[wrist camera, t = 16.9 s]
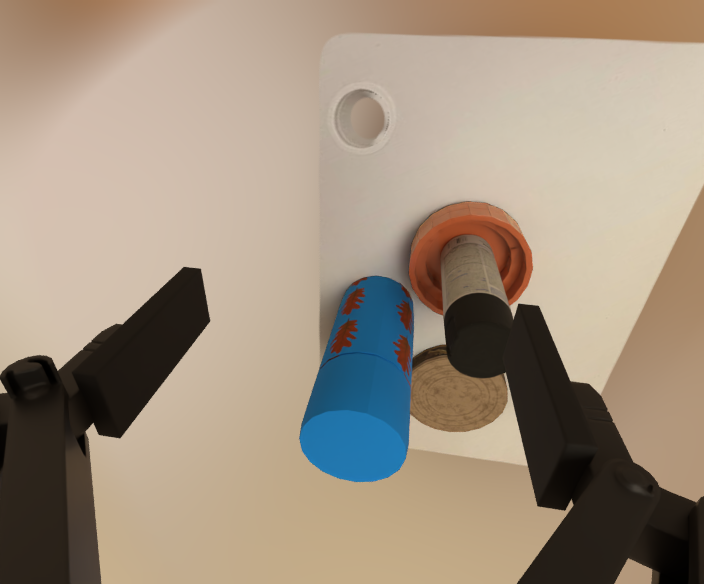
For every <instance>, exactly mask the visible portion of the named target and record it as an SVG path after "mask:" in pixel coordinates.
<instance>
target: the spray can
mask: <svg viewBox="0 0 704 584" xmlns="http://www.w3.org/2000/svg"><path fill="white" fill-rule="evenodd" d="M440 261H441V278H442V297H443V316H444V328H445V338H446V351H447V358H448V360H449V362H450V364H451V365H452V366H453V367H454V368H455V369H456V370H457V371H458V372H460V373H462V374H464V375H466V376H469V377H473V378H482V379H483V378H492V377H496V376H499V375H501V374H503V373H505V372H506V370H505V366H504V362H503V354H504V351H505V348H506V344H507V341H508V337H509V334H510V331H511V327H512V324H513V321H514V320H513V316H512V313H511V309H510V306H509V303H508V299H507V296H506V293H505V290H504V287H503V283H502V280H501V277H500V273H499V270H498V267H497V264H496V261H495V257H494V254H493V251H492V248H491V247H490V245H489V244H488V242H487V241H486V240H484V239H483V238H481V237H479V236H477V235H466V234H465V235H460V236H457V237H454V238H453V239H452V240H451V241H449V242H448V243H447V244H446V245H445V247H444V248H443V250H442V253H441V259H440Z"/></svg>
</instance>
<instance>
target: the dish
mask: <svg viewBox="0 0 704 584" xmlns="http://www.w3.org/2000/svg"><path fill="white" fill-rule="evenodd" d="M465 234H466V235H477V236H479V237H481V238H483V239H484V240H486V241H487V242H488V244H489V245H490V247H491V248H492V251H493V254H494V257H495V261H496V264H497V267H498V270H499V273H500V277H501V280H502V283H503V287H504V290H505V293H506V296H507V299H508V303H509V306H510V305H511V304H513V303H514V302H515V301H517V300H518V298H519V297H520V296H521V294H522V293H523V291H524V290H525V289H526V287H527V286H528V283H529V280H530V277H531V273H532V270H533V265H532V252H531V250H530V248H529V246H528V244H527V242H526V240H525V238H524V236H523V234H522V232H521V230H520V228H519V226H518V224H517V222H516V221H515V220H514V219H513V218H512V217H510V216H509V215H508V214H507V213H506V212H505V211H503V210H502V209H499V208H497V207H494V206H492V205H490V204H486V203H478V202H463V203H459V204H454V205H449V206H447V207H445V208H443V209H441V210H439V211H437V212H436V213H434V214H432V215H431V216H430V217H429V218H428V219H427V220H426V221H425V222H424V223H423V224H422V225H421V226H420V227H419V229H418V231H417V233H416V235H415V237H414V239H413V241H412V245H411V253H410V264H409V276H410V280H411V285H412V288H413V290H414V291H415V293H416V294H417V296H418V297H419V299H420V300H421V301H422V303H424V304H425V305H426V306H427V307H429V308H430V309H431V310H433V311H434V312H436V313H438V314H441V315H443V297H442V278H441V261H440V259H441V253H442V250H443V248H444V247H445V245H446V244H447V243H448V242H449V241H451V240H452V239H453V238H454V237H457V236H460V235H465Z"/></svg>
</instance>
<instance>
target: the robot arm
mask: <svg viewBox="0 0 704 584" xmlns="http://www.w3.org/2000/svg"><path fill="white" fill-rule="evenodd" d="M209 322H210V317H209V312H208V306H207V301H206V295H205V290H204V284H203V278H202V273H201V269H198V268H189V267H183V268H182V269H181V270H180V271H179V272H178V273H177V274H176V275H175V276H174V277H173V278H172V279H171V280H169V281H168V282H167V283H166V284H165V285H164V286H163V287H162V288H161V289H160V290H159V291H158V292H157V293H156V294H154V296H152V297H151V298H150V299H149V300H148V301H147V302H146V303H145V304H144V305H143V306H142V307H141V308H140V309H138V310H137V311H136V312H135V313H134V314H133V315H132V316H131V317H130V318H129V319H128V320H127V321H126V322H125V323H124V324H123V325H121V324H115V325H113V326H111V327H109V328H107V329H105V330H104V331H102V332H101V333H100V334H98V335H97V336H96V337H95V338H94V339H93V340H92V342H91V343H89V344H87V345H86V346H85V347H84V348H83V350H81V351H80V352H78V354H76V355H75V356H74V357H73V358H72V359H71V360H70V361H68V362H67V363H66V364H65V365H64V366H63V367H62V368H61V369H59V370H58V371H57V369H56V367H55V364H54V362H53V360H52V358H50V357H48V356H41V355H37V356H32V357H27V358H24V359H21V360H18V361H16V362H15V363H13V364H11V365H9V366H8V367H7V368H6V369H5V370H4V371H3V372H2V373H1V375H0V380H1V382H2V384H3V385H4V387H5V389H6V391H7V393H2V394H0V584H101V575H100V564H99V553H98V542H97V530H96V519H95V508H94V497H93V486H92V475H91V463H90V452H89V441H88V437H87V435H86V432H85V431H86V430H87V429H88V428H89V427H90V426H91V425H92V424H93V423H94V425H95V427H96V430H97V432H98V434H99V435H103V436H109V437H115V438H121V437H122V435H123V434H124V433H125V431H126V430H127V429H128V428H129V426H130V425H131V424H132V422H133V421H134V420H135V418H136V417H137V416H138V415H139V413H140V412H141V411H142V409H143V408H144V407H145V405H146V404H147V403H148V401H149V400H150V399H151V398H152V396H153V395H154V394H155V392H156V391H157V390H158V388H159V387H160V386H161V384H162V383H163V382H164V381H165V379H166V378H167V377H168V376H169V374H170V373H171V372H172V370H173V369H174V368H175V366H176V365H177V364H178V363H179V361H180V360H181V359H182V357H183V356H184V355H185V353H186V352H187V351H188V349H189V348H190V347H191V346H192V344H193V343H194V342H195V340H196V339H197V338H198V336H199V335H200V334H201V333H202V331H203V330H204V329H205V327H206V326H207V325H208V323H209ZM503 362H504V366H505V370H506V375H507V379H508V383H509V387H510V392H511V396H512V400H513V404H514V409H515V413H516V417H517V421H518V426H519V430H520V434H521V438H522V442H523V447H524V451H525V455H526V459H527V464H528V468H529V472H530V476H531V480H532V485H533V489H534V493H535V498H536V502H537V506H539V507H546V508H552V509H558V510H564V511H565V510H566V508H567V506H568V504H569V502H570V501H571V499H572V502H573V504H574V506H573V507H572V509H571V510H570V511H569V513H568V514H567V516H566V517H565V518H564V520H563V521H562V522H561V524H560V525H559V527H558V528H557V529H556V531H555V532H554V534H553V535H552V536H551V538H550V539H549V540H548V542H547V543H546V544H545V546H544V547H543V548H542V550H541V551H540V553H539V554H538V556H537V557H536V558H535V560H534V561H533V562H532V564H531V565H530V567H529V568H528V569H527V571H526V572H525V573H524V575H523V576H522V577H521V579H520V580H519V581H518V583H517V584H614V583H615V581H616V579H617V577H618V576H619V574H620V572H621V570H622V568H623V566H624V565H625V563H626V560H627V559H628V558H629V559H632V560H634V561H636V562H638V563H640V564H642V565H644V566H647V567H649V568H651V569H653V570H652V584H704V496H703V497H701V498H700V499H699V500H698V502H694V501H692V500H689V499H686V498H684V497H682V496H678V495H676V494H674V493H671V492H669V491H667V490H665V489H662V488H661V487H659V485H658V483H657V481H656V480H655V479H654V477H653V476H652V475H651V474H650V473H649V472H648V471H646V470H645V469H644V468H643V467H641V466H639V465H637V464H635V463H634V462H633V461H632V459H631V456H630V455H629V452H628V450H627V448H626V446H625V444H624V442H623V440H622V438H621V436H620V434H619V432H618V430H617V428H616V426H615V424H614V423H613V422H612V421H613V420H612V418H611V415H610V413H609V412H607V407H606V405H605V403H604V401H603V399H602V397H601V396H600V394H599V393H598V392H597V391H596V390H595V389H594V388H593V387H592V386H591V385H590V384H587V383H579V382H571V381H570V379H569V377H568V375H567V372H566V370H565V367H564V365H563V363H562V360H561V358H560V355H559V353H558V351H557V348H556V346H555V343H554V341H553V339H552V336H551V334H550V331H549V329H548V327H547V324H546V322H545V319H544V317H543V315H542V312H541V310H540V308H539V306H535V305H526V304H518V307H517V310H516V314H515V317H514V321H513V324H512V327H511V331H510V334H509V337H508V341H507V344H506V348H505V351H504V354H503Z"/></svg>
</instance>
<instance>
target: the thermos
mask: <svg viewBox="0 0 704 584" xmlns="http://www.w3.org/2000/svg"><path fill="white" fill-rule="evenodd" d="M413 334H414V313H413V301H412V299H411V297H410V294H409V292H408V291H407V290H406V289H405V288H404V287H403V286H402V285H401V284H400V283H398V282H396V281H394V280H392V279H390V278H387V277H381V276H371V277H365V278H362V279H360V280H358V281H356V282H354V283H353V284H352V285H351V286H350V287H349V289H348V290H347V291H346V293H345V295H344V297H343V300H342V302H341V304H340V307H339V310H338V313H337V316H336V319H335V322H334V325H333V328H332V332H331V335H330V338H329V341H328V344H327V347H326V350H325V353H324V356H323V359H322V362H321V365H320V368H319V372H318V375H317V378H316V381H315V384H314V387H313V390H312V393H311V396H310V399H309V402H308V405H307V409H306V412H305V415H304V418H303V421H302V425H301V431H300V438H299V439H300V443H301V448H302V451H303V453H304V454H305V455H306V457H307V458H308V460H309V461H310V462H311V463H312V464H313V465H315V466H316V467H318V468H319V469H320V470H322V471H323V472H325V473H327V474H330V475H332V476H334V477H337V478H339V479H344V480H349V481H354V482H371V481H372V482H373V481H377V480H381V479H384V478H388V477H389V476H391V475H392V474H394V473H395V472H397V471H398V470H399V469H400V468H401V466H402V464H403V463H404V461H405V459H406V455H407V450H408V445H409V424H410V402H411V379H412V357H413Z"/></svg>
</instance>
